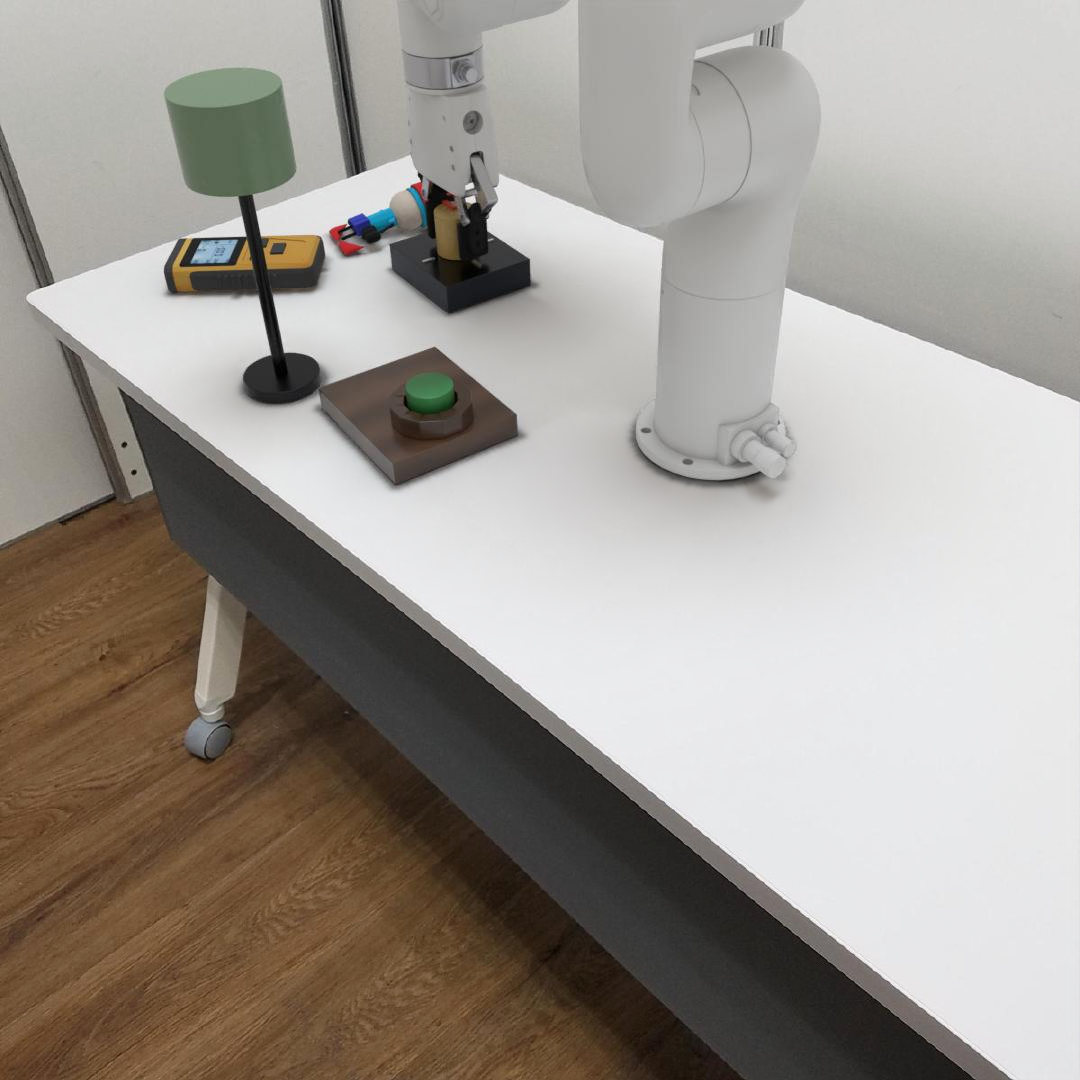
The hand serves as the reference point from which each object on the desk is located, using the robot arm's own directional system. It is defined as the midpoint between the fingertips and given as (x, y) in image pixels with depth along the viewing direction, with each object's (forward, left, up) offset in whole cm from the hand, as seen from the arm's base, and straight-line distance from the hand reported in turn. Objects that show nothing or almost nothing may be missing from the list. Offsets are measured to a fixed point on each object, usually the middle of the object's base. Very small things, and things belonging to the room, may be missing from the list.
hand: (457, 244), depth 118 cm
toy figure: (+14, 0, -4) cm, 15 cm away
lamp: (-8, +24, -4) cm, 26 cm away
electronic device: (+14, +18, -4) cm, 23 cm away
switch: (-24, +17, 0) cm, 29 cm away
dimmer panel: (0, 0, -4) cm, 4 cm away
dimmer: (0, 0, -1) cm, 1 cm away
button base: (-21, +17, -4) cm, 27 cm away
